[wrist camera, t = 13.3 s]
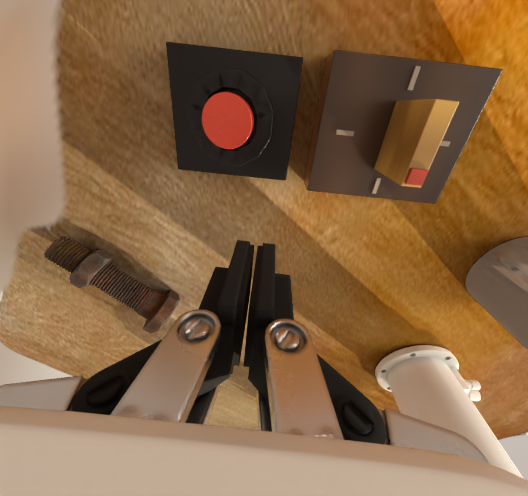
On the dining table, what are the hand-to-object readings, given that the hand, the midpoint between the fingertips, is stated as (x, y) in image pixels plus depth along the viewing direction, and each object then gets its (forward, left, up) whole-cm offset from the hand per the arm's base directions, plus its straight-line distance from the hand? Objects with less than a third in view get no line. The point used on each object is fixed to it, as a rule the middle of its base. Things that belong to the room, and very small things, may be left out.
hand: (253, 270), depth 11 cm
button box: (+3, -5, -16) cm, 17 cm away
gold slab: (-10, -5, -12) cm, 17 cm away
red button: (+3, -5, -12) cm, 13 cm away
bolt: (+17, +14, -16) cm, 27 cm away
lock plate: (-10, -5, -16) cm, 19 cm away
